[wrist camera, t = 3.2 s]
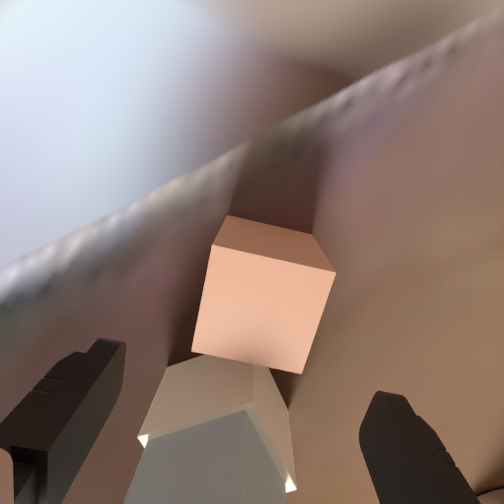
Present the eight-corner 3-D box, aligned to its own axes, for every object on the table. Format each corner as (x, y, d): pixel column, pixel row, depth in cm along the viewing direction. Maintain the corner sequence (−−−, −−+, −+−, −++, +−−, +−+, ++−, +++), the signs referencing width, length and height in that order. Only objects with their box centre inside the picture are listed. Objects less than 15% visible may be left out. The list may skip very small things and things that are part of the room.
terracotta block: (311, 234, 20) (336, 272, 13) (289, 309, 21) (301, 374, 15) (227, 214, 19) (212, 244, 13) (211, 292, 21) (191, 351, 15)
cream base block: (254, 337, 22) (252, 401, 16) (287, 409, 24) (296, 489, 18) (167, 366, 23) (137, 436, 17) (206, 433, 25) (190, 517, 19)
